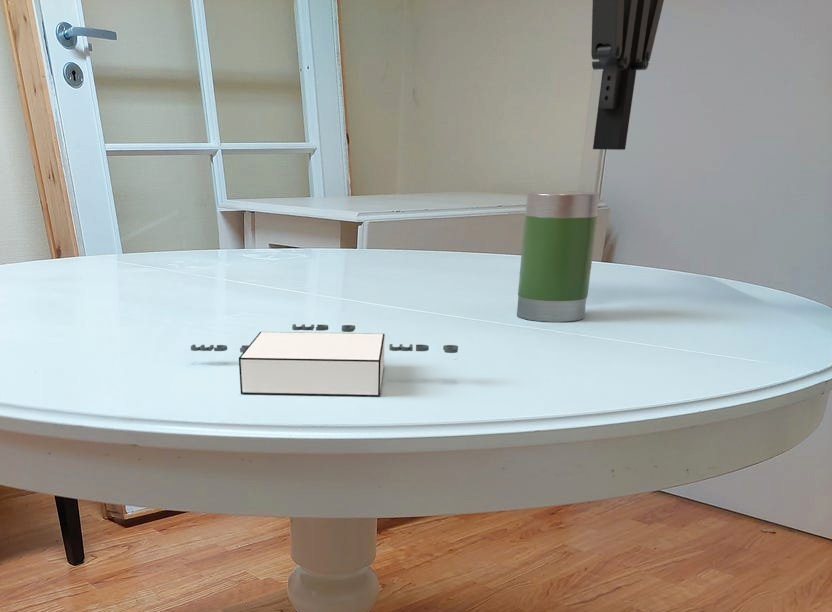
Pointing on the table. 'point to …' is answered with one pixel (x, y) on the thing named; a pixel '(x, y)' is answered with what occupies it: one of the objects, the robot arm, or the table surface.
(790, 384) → the table surface
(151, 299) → the table surface
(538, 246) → the can
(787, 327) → the table surface
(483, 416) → the table surface
